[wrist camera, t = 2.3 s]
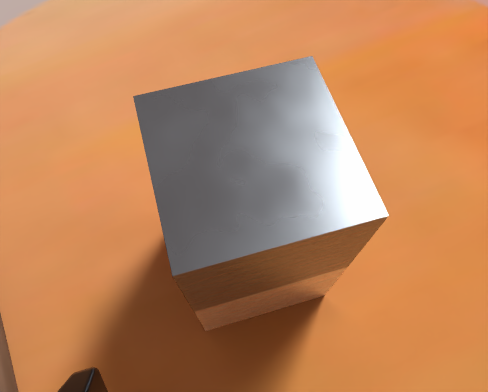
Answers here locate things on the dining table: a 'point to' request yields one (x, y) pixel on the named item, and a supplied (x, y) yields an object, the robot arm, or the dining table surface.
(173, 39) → the dining table surface
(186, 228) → the block
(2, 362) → the stand
